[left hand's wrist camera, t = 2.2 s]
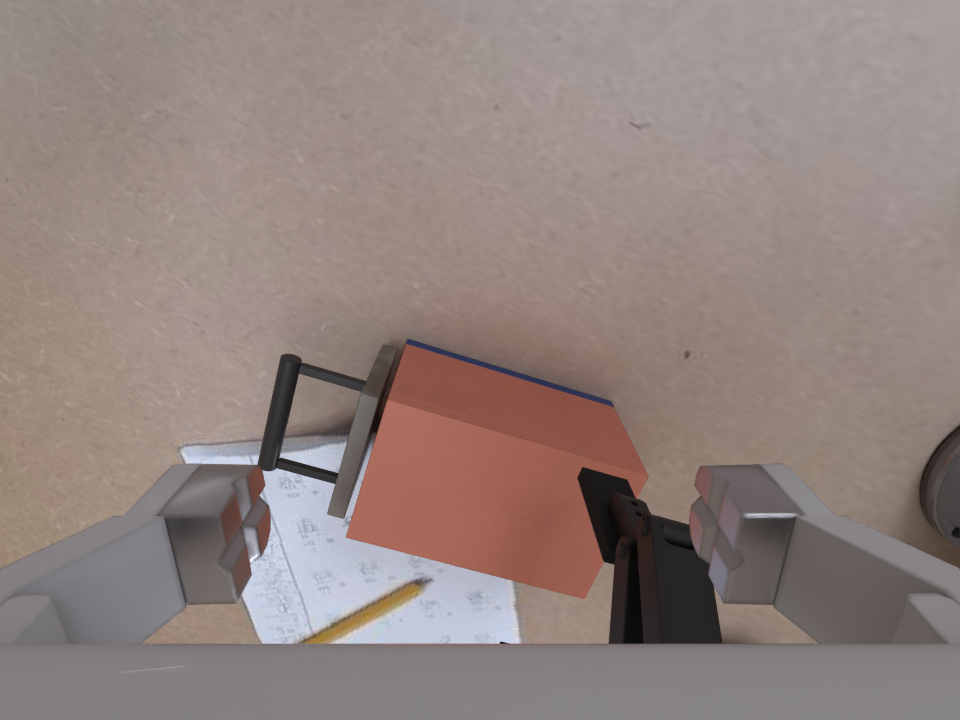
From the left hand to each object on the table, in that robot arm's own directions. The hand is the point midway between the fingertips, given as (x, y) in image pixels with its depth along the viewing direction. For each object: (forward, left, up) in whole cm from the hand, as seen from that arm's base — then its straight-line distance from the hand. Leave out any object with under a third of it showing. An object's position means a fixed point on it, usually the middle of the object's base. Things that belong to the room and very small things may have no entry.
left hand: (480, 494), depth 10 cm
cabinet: (+9, -14, -33) cm, 37 cm away
